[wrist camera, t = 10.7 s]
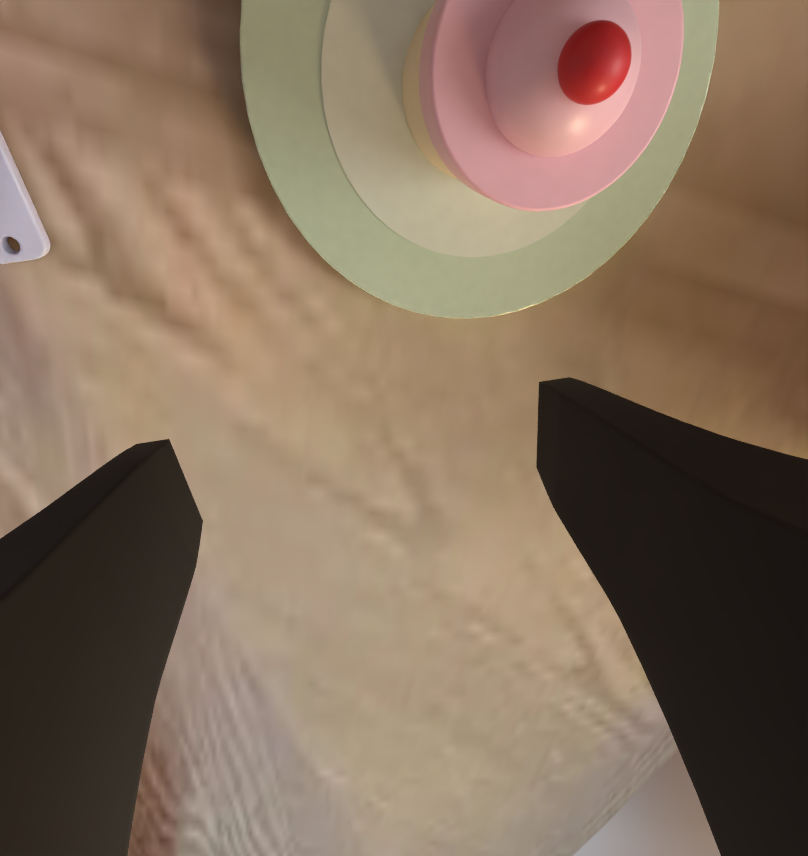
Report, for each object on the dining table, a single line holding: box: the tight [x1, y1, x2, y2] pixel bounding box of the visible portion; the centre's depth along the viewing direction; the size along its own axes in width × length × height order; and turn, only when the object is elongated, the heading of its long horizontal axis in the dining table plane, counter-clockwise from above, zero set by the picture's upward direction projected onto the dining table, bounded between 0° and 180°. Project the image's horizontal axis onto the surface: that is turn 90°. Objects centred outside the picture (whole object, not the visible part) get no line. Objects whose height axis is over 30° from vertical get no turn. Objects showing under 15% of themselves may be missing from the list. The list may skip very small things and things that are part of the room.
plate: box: [239, 0, 719, 319], centre depth 15 cm, size 14×14×1 cm
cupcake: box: [402, 0, 684, 212], centre depth 12 cm, size 5×5×8 cm
